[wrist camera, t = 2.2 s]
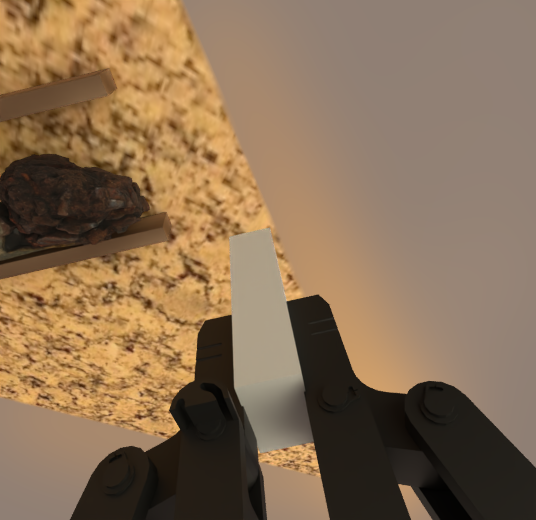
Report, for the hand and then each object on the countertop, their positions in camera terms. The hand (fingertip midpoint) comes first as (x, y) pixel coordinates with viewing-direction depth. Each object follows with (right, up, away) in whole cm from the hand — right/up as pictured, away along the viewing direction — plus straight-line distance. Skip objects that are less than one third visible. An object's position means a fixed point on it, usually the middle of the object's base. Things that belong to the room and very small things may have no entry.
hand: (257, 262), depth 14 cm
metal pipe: (-18, +5, +15) cm, 24 cm away
